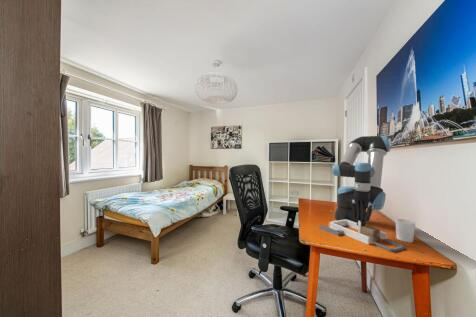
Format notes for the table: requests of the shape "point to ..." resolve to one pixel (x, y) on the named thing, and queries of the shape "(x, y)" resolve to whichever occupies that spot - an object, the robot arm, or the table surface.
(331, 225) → the cubby
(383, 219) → the table surface
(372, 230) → the walnut cube
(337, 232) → the crook tool
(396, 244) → the grey bracket
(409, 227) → the white cup
